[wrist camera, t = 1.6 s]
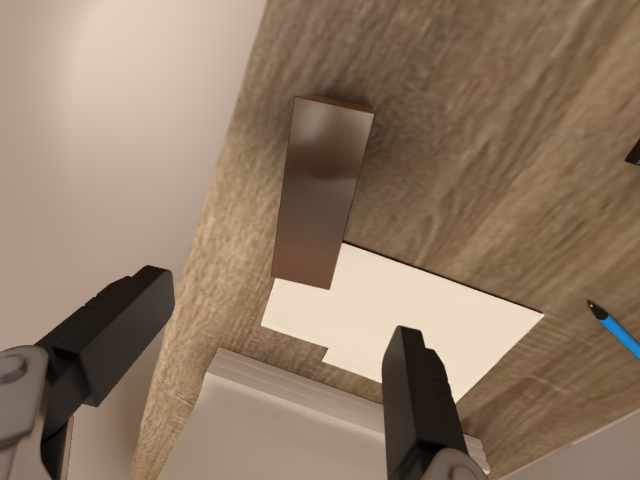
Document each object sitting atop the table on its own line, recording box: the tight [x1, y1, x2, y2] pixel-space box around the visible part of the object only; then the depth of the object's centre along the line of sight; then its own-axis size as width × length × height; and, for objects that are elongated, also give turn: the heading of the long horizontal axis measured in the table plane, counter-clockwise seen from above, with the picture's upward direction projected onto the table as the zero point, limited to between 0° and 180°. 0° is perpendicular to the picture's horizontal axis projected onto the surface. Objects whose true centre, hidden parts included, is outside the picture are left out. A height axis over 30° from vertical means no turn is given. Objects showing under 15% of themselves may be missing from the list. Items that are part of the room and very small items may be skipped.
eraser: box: [271, 94, 375, 290], centre depth 21 cm, size 12×4×6 cm, turn 169°
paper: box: [261, 243, 545, 403], centre depth 30 cm, size 25×17×1 cm
